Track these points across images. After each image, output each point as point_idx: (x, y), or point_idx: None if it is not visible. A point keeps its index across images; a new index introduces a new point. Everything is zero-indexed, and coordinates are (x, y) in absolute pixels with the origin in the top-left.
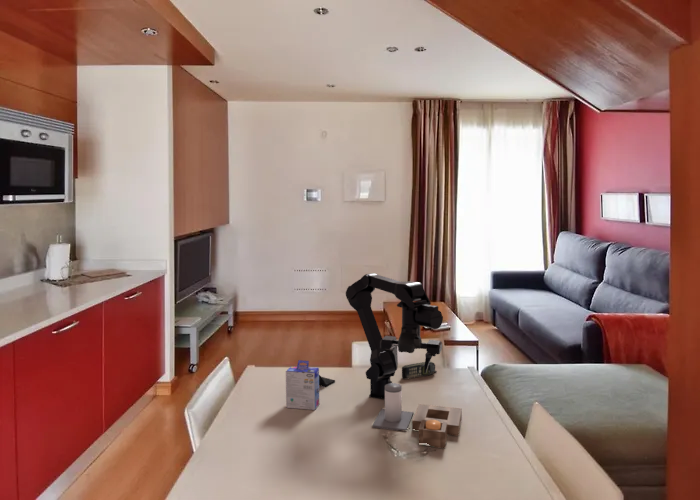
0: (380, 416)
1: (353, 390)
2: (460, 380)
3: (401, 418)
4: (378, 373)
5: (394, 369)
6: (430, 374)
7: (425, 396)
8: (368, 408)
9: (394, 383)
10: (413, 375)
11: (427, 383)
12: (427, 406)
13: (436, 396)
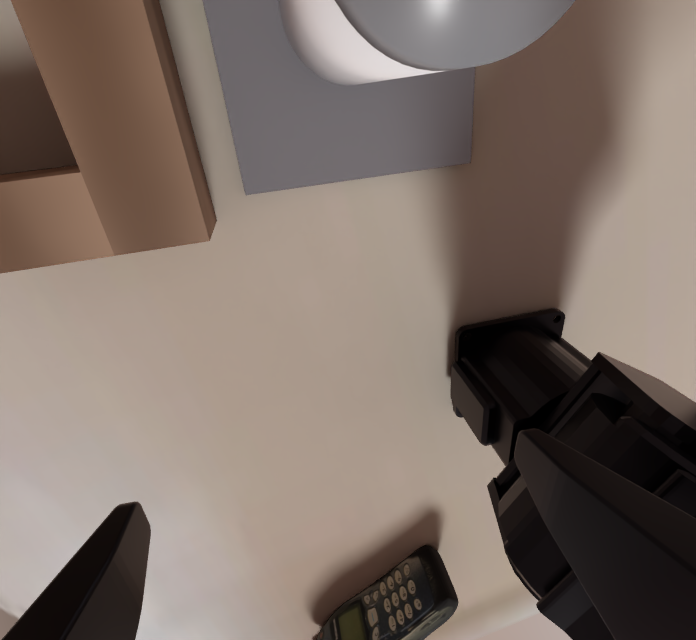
0: None
1: (639, 353)
2: (186, 636)
3: (280, 12)
4: (643, 389)
5: (515, 507)
6: (329, 619)
7: (271, 446)
8: (548, 160)
9: (476, 48)
10: (393, 581)
11: (314, 557)
12: (115, 220)
13: (215, 470)
